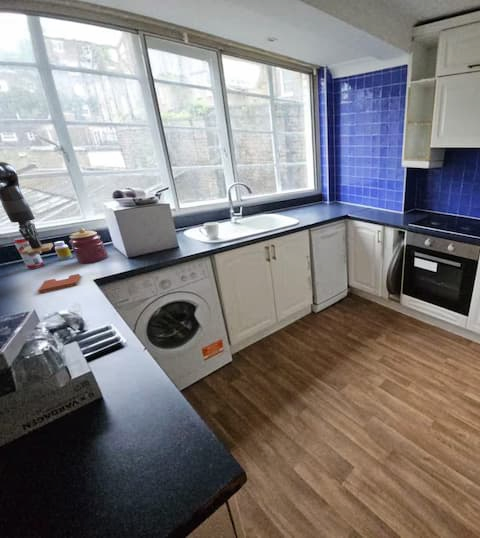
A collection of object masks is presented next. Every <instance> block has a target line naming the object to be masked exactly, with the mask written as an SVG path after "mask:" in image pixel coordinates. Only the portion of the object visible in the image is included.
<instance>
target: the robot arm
mask: <svg viewBox="0 0 480 538" xmlns="http://www.w3.org/2000/svg"><path fill="white" fill-rule="evenodd" d="M19 181H20V180H19V175H18V172H17V171H16V169H15V167H14V166H12V164H9V163H8V162H6V161H0V203H1V205H2V206H1V207H2V208H3V210H4V212H5V214H6V216H7V217H8V219H9V221H10V222H11V223H13V224H15V223H18V228H19V229H18V232H19V233H20V234H21V237H24V238H25V240H26V241H29V243H30V245H31V246H32V248H33V249H34V248H39V245H38V243H37V241H36V238H35V237H34V236H38V237H39V233H38V231H37V228H36V225H35V223H32V222H31V221H33V220H35V219H36V217H35V215H34V213H33V211H32V209H31V207H30V205H29V203H28V202H27V201H26V199H25V197H24V195H23V193H22V191H21V189H20V182H19Z"/></svg>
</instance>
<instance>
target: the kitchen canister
mask: <svg viewBox="0 0 480 538" xmlns="http://www.w3.org/2000/svg"><path fill="white" fill-rule="evenodd" d="M68 238H70V240H69V241H68V242H69V244H70V245H71V249H72V250H73V252H74V255H75V257H76V261H78V263H80V264H90V263H95V262H99V261H102V260H105V259H106V258H108V252H107V250H106V247H105V245H104V242H103V241H102V239H101V235H98V232H97V231H95V230H85V228H83V227H82V228H79V229H77V231H76V232H74V233H71V235H70V236H68Z"/></svg>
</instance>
